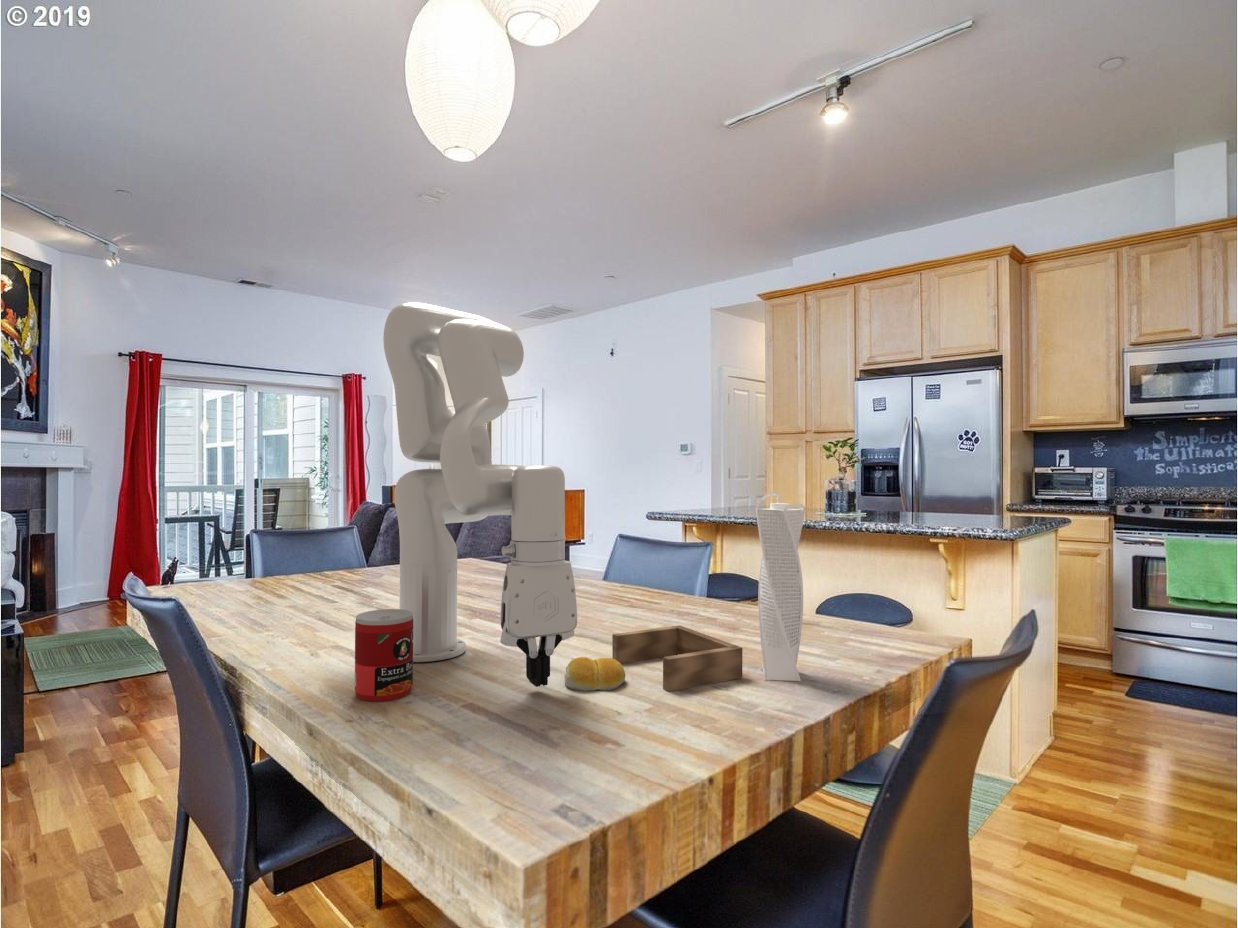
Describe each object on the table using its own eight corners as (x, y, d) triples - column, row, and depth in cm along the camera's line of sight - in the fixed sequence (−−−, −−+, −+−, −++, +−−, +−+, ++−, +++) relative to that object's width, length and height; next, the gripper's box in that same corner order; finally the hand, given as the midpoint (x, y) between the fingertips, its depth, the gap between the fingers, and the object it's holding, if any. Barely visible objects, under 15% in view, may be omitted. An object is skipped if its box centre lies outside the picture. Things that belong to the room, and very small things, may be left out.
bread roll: (629, 691, 92) (629, 663, 93) (567, 694, 91) (567, 665, 91) (620, 673, 101) (620, 648, 101) (562, 676, 99) (562, 650, 99)
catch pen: (668, 691, 92) (668, 659, 92) (612, 661, 106) (612, 634, 107) (742, 677, 98) (742, 647, 98) (680, 651, 113) (680, 625, 113)
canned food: (379, 706, 85) (380, 622, 86) (342, 695, 90) (342, 615, 90) (425, 690, 92) (425, 612, 92) (388, 680, 96) (388, 606, 96)
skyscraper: (753, 666, 104) (752, 492, 105) (800, 667, 103) (799, 492, 104) (758, 681, 96) (758, 493, 97) (810, 683, 95) (809, 493, 96)
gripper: (495, 558, 85) (495, 700, 84) (597, 552, 92) (597, 682, 91) (478, 553, 91) (478, 684, 91) (575, 547, 98) (575, 669, 98)
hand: (538, 683), depth 91 cm, fingers closed
